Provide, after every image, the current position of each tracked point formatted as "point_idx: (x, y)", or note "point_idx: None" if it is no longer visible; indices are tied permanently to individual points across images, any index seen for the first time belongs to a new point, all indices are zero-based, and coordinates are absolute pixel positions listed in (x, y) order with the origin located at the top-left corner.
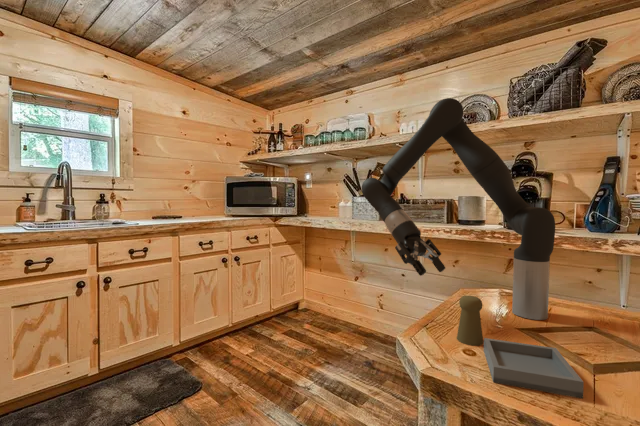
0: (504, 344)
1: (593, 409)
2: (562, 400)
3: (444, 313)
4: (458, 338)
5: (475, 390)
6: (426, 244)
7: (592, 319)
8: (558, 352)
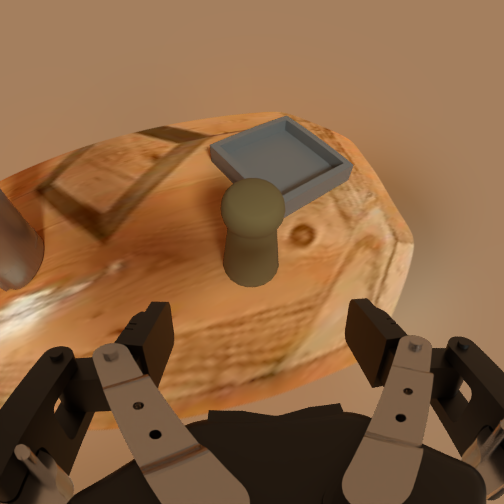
0: None
1: None
2: None
3: None
4: (275, 271)
5: (380, 185)
6: (57, 487)
7: None
8: (224, 140)
